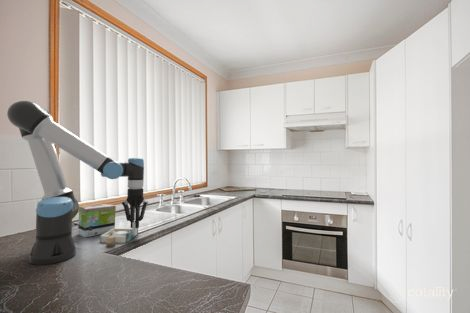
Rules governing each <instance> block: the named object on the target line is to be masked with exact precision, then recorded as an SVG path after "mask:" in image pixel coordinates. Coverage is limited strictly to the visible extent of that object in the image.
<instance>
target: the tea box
mask: <svg viewBox="0 0 470 313" xmlns="http://www.w3.org/2000/svg"><path fill="white" fill-rule="evenodd" d="M116 208H117V205H114V204H109V203H101V204H94V205H93V204H92V205H84V206H79V210H78V221H77V224H78V225H77V226H78V227H77V235H79V236H81V237H83V238H90V237H93V236H98V235H99V236H101V235H103V234H105V233H106V232H108V231H110V230H112V229H113V228H116V227H115V226H116Z"/></svg>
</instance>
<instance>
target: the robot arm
mask: <svg viewBox="0 0 470 313" xmlns="http://www.w3.org/2000/svg"><path fill="white" fill-rule="evenodd" d="M6 114H7V115H6V116H7V118H8V120H9V122H10V123H11V124H12V125H13V126H14V127H17V128H18V130H19V133H20V135H21V138H22V139H23V140H25V141H26V142H27V143H28V146H29V150H30V152H31V155H32V158H33V162H34V165H35V168H36V171H37V174H38V177H39V181H40V184H41V188H42V190H43V196H42V198H41V200H40V201H38V202H37V205H36V208H35V214H36V216H35V217H36V219H35V241H34V244H33V246H32V248H31V251H30V253H29V256H28V263H29V264H30V265H38V266H39V265H41V266H43V265H51V264H56V263H60V262H63V261H66V260H69V259H71V258H73V257H74V256H76V253H77V246H76V244H75V241H74V238H73V236H72V231H73V229H72V228H73V220H74V218H75V217H76V216H77V215H78V214H79V207H80V204H79V201H78V200H77V199H76V197H75V194H74V192H73V189H70V188H69V187H68V185H67V183H66V179H65V175H64V173H63V172H64V171H63V169H62V165H61V163H60V159H59V155H58V152H57V149H56V147H57V148H59V149H61V150H63V151H64V152H66V153H68V154H69V155H70V156H73V157H74V158H76V159H77V160H79V161H81V162H82V163H84V164H86V165H87V166H89V167H91V168H92V169H94V170H96V171H97V172H99V173H100V176H101V177H103V178H107V179H109V180H117V179H119V178H120V177H123V178H124V177H127V188H128V189H127V197H126V200H124V201H122V202H121V205H122V206H123V209H124V213H125V218H126V221H127V222H128V221H129V223H130V228H132V235H136V234H137V228H138V229H139V227H140V222H141V221H142V220H143V219H144V217H145V213H146V210H147V206H148V204H149V201H147V200H145V197H144V183H145V182H144V176H145V166H144V165H145V161H144V158H140V157H129V158H128V159H127V161H116V160H115V159H113V158H111V157H109V156H108V155H107V154H105V153H104V152H102V151H100V150H99V149H97V148H95V147H94V146H93V145H92V144H89V143H88V142H86V141H85V140H83V139H82V138H80V137H78V136H77V135H76V134H74V133H72V132H71V131H69V129H66V128H65V127H63V126H62V125H60V124H59V123H57V122H55V121H54V119H53V116H52V115H51V113H50V111H48V110H47V109H45V108H43V107H41V106H40V105H38V104H37V103H35V102H33V101H28V100H20V101H17V102H14V103H12V104H11V105H10V106H9V107H8V110H7V113H6ZM55 146H56V147H55ZM141 205H142V207H141ZM140 208H141V210H140ZM136 236H137V235H136Z"/></svg>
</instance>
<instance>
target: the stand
mask: <svg viewBox="0 0 470 313" xmlns="http://www.w3.org/2000/svg"><path fill="white" fill-rule="evenodd" d="M105 243H106V245H105V246H106V247H107V248H112V247H115V246H116V243H115V237H108V238H107V241H106V242H105Z"/></svg>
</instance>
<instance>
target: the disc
mask: <svg viewBox="0 0 470 313" xmlns="http://www.w3.org/2000/svg"><path fill="white" fill-rule="evenodd" d="M127 233H128V232H127V231H118V232H114V233H113V235H112V236H126V234H127Z"/></svg>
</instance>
